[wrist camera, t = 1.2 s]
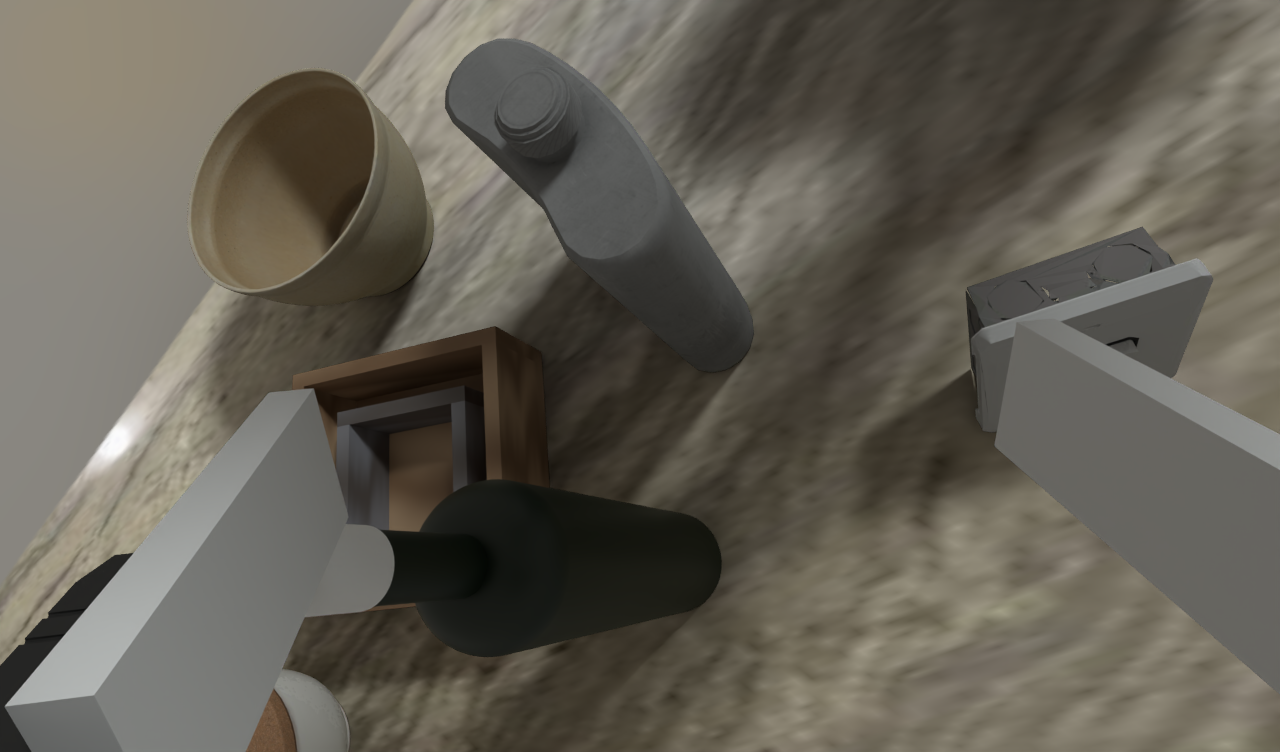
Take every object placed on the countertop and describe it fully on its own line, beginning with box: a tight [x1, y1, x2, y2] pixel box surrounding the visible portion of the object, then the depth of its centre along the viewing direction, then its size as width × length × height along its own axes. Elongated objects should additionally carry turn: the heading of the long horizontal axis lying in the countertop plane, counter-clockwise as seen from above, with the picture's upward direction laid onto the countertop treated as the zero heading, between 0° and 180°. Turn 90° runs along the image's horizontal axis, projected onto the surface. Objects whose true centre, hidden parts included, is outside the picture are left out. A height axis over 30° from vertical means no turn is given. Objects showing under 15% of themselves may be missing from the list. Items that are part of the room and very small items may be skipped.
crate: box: [292, 326, 550, 618], centre depth 46 cm, size 16×16×6 cm
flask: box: [445, 39, 754, 372], centre depth 38 cm, size 15×6×20 cm, turn 38°
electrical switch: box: [966, 227, 1213, 432], centre depth 34 cm, size 9×5×9 cm, turn 104°
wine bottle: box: [305, 479, 721, 657], centre depth 29 cm, size 6×6×30 cm
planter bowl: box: [187, 68, 434, 306], centre depth 52 cm, size 16×16×11 cm
